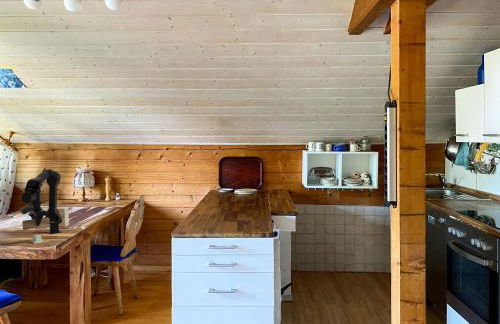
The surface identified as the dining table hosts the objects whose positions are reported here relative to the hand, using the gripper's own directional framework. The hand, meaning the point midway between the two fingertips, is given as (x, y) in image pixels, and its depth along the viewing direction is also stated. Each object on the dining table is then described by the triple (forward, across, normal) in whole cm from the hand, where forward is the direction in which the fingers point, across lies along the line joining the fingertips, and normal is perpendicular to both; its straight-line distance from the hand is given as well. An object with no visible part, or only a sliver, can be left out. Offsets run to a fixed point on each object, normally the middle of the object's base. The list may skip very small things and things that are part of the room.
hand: (36, 225), depth 245 cm
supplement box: (+10, -32, +29) cm, 44 cm away
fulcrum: (+10, 0, 0) cm, 10 cm away
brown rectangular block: (+1, 0, 0) cm, 1 cm away
